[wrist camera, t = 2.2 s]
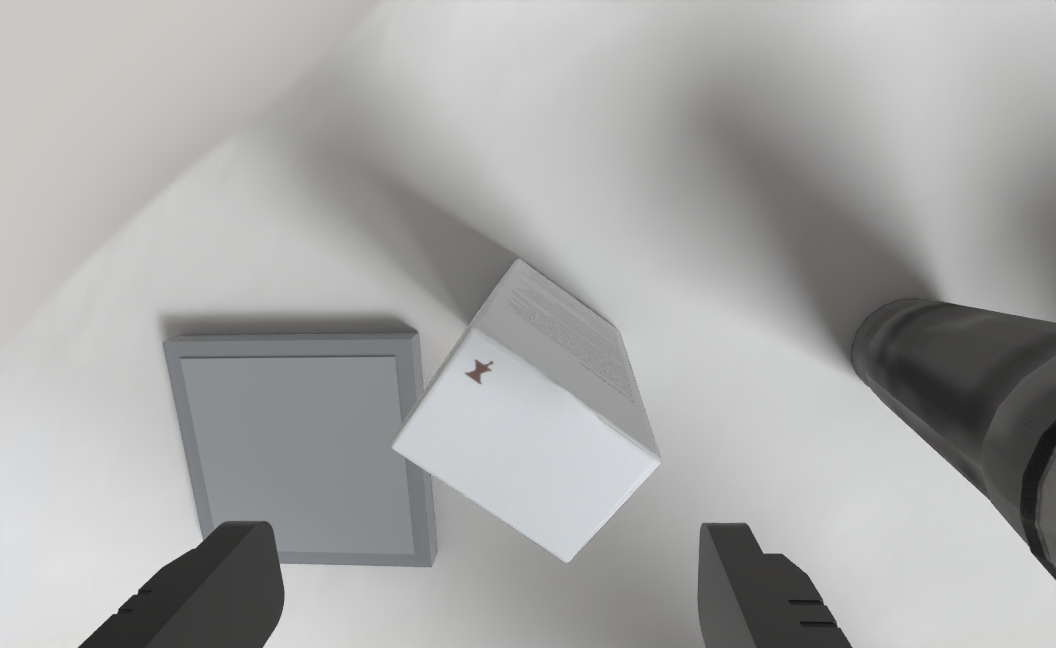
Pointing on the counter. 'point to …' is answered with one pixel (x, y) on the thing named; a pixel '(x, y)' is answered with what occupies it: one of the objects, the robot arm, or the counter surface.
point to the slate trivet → (306, 442)
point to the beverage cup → (974, 400)
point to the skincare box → (535, 415)
